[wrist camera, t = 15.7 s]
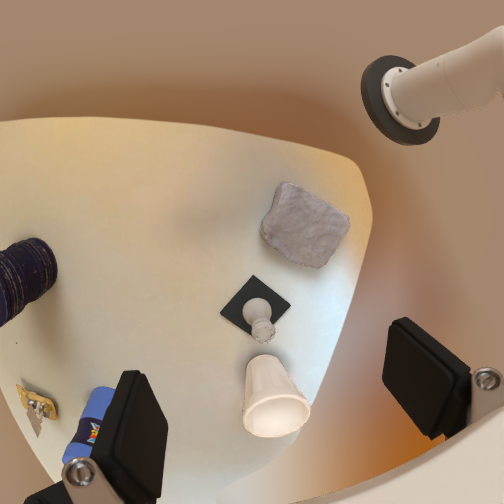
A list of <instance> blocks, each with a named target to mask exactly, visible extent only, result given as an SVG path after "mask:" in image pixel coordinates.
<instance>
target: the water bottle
mask: <svg viewBox="0 0 504 504" xmlns="http://www.w3.org/2000/svg"><path fill="white" fill-rule="evenodd" d="M114 393H115V390H114V389H112V388H108V387H98V388H96V389H94V390H93V392H92V394H91V396H90V398H89V400H88V402H87V404H86V407H85V409H84V411H83V413H82V415H81V418H80V420H79V425H78V429H77V432H76V434H75V436H74V437H73V439H72V440H71V442H70V444H68V445H67V448H66V450H65V452H64V455H63V457H62V461H63V463H64V465H65V464H66V463H67V462H68V461H69V460H71V459H72V458H75V457H80V456H84V457H88V458H89V456H90V453H91V450H92V448H93V445H94V442H95V439H96V436H97V433H98V431H99V428H100V425H101V422H102V420H103V417H104V414H105V412H106V409H107V407H108V406H109V405H110V403H111V400H112V398H113V395H114Z"/></svg>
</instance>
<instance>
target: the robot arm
mask: <svg viewBox="0 0 504 504" xmlns="http://www.w3.org/2000/svg"><path fill="white" fill-rule="evenodd" d="M498 90H499V91H500V93H501V95H502V97H503V99H504V25H503V26H499V27H497V28H495V29H493V30H492V31H490V32H489V33H487V34H485V35H484V36H482V37H480V38H479V39H477V40H475V41H474V42H471V43H469V44H467V45H465V46H462V47H460V48H458V49H456V50H453V51H451V52H448V53H446V54H443V55H441V56H438V57H436V58H434V59H432V60H429V61H427V62H425V63H422V64H420V65H418V66H416V67H414V68H411V69H406V68H403V67H395V68H392V69H390V70H389V71H387V72H386V73H385V74H384V76H383V78H382V82H381V93H382V97H383V101H384V103H385V105H386V108H387V109H388V111H389V113H390V114H391V115H392V116H393V118H394V119H395V120H396V121H397V122H398V123H400V124H401V125H402V126H404V127H406V128H408V129H412V130H418V129H422V128H425V127H426V126H428V125H429V123H430V122H431V120H432V118H436V117H441V116H446V115H452V114H458V113H463V112H469V111H476V110H481V109H485V108H487V107H488V106H489V105H490V104H491V103H492V102H493V100H494V98H495V97H496V94H497V92H498ZM469 372H470V367H468V366H467V365H466V364H465V363H464V362H462V361H461V360H460V359H459V358H458V357H456V356H455V355H454V354H452V352H450V351H449V350H448V349H447V348H446V347H444V346H443V345H442V344H440V343H439V342H438V341H437V340H435V339H434V338H433V337H432V336H430V335H429V334H428V333H427V332H426V331H424V330H423V329H422V328H420V327H419V326H418V325H417V324H415V323H414V322H413V321H412V320H410V319H409V318H407V317H403V318H400V319H398V320H394V321H393V322H392V325H391V326H390V327H389V330H388V340H387V347H386V354H385V361H384V368H383V374H382V380H383V383H384V385H385V386H386V387H387V389H388V390H389V391H390V392H391V394H392V395H393V396H394V397H395V399H396V400H397V401H398V403H399V404H400V405H401V406H402V408H403V409H404V410H405V412H406V413H407V414H408V415H409V417H410V418H411V419H412V420H413V422H414V423H415V425H416V426H417V427H418V428H419V430H420V431H421V432H422V434H423V435H425V436H427V435H428V437H429V438H430V439H431V440H433V439H435V438H436V437H438V436H440V435H441V434H442V433H443V434H444V435H445V442H443V443H441V444H440V445H438V446H436V447H434V448H433V449H431V450H429V451H428V452H426V453H424V454H422V455H420V456H419V457H417V458H415V459H413V460H411V461H409V462H407V463H405V464H403V465H401V466H399V467H397V468H395V469H392V470H390V471H388V472H386V473H384V474H381V475H379V476H376V477H374V478H372V479H369V480H367V481H364V482H362V483H359V484H356V485H353V486H351V487H348V488H345V489H342V490H339V491H336V492H333V493H329V494H327V495H323V496H319V497H315V498H312V499H308V500H304V501H300V502H296V503H291V504H504V378H503V376H502V374H501V373H500V372H499V371H498V370H496V369H494V368H491V367H482V368H479V369H477V370H476V371H474V373H473V374H471V373H469ZM167 435H168V423H167V420H166V418H165V416H164V414H163V412H162V410H161V408H160V406H159V404H158V402H157V400H156V398H155V395H154V393H153V391H152V389H151V387H150V384H149V382H148V380H147V378H146V376H145V374H141V373H140V371H139V370H130V371H123V373H122V375H121V378H120V380H119V383H118V385H117V388H116V390H115V393H114V395H113V398H112V400H111V403H110V405H109V406H108V407H107V409H106V412H105V414H104V417H103V420H102V422H101V425H100V428H99V431H98V433H97V436H96V439H95V442H94V445H93V448H92V450H91V453H90V456H89V458H88V457H84V456H80V457H75V458H72V459H71V460H69V461H68V462H67V463H66V464H65V465H64V467H63V469H62V474H61V475H62V480H61V481H59V482H58V483H56V484H54V485H51V486H50V487H47V488H45V489H43V490H41V491H39V492H37V493H35V494H32V495H31V496H29V497H27V499H26V500H25V501H24V504H156V500H157V498H160V497H161V490H162V479H163V469H164V460H165V451H166V443H167Z"/></svg>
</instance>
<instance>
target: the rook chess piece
mask: <svg viewBox="0 0 504 504" xmlns="http://www.w3.org/2000/svg"><path fill="white" fill-rule="evenodd" d="M271 315H272V313H271V306H270V305H269V303H268V302H267V301H266V300H264V299H261V298H255V299H251V300H249V301H248V302H247V303H246V304H245V305H244V308H243V316H244V319H245V320H246V322H247V323H249V324H250V325H252V337H253V338H254V339H255V340H256V341H258V342H260V343H262V344H263V343H264V342H267V343H269V342H270V340H271V339H273V338H274V335H275V327H274V325H273V324H271V322H270V318H271Z"/></svg>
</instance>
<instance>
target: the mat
mask: <svg viewBox="0 0 504 504" xmlns="http://www.w3.org/2000/svg"><path fill="white" fill-rule="evenodd" d="M255 298H261V299H264V300H266V301H267V302H268V303H269V305H270V306H271V313H272V315H271V318H270V322H271V324H274V323H275V322H276V321H277V320H278V319H279V318H280V317H281V316H282V315H283V314H284V313H285V311H286V310H287V309H288V308H289V307H290V306H291V305H290V304H289V303H288V302H287V301H285V300H284V299H283V298H282V297H280V296H279V295H278V294H277V293H275V292H274V291H273V290H271V289H270V288H269V287H268V286H266V285H265V284H264V283H263V282H261V281H260V280H259V279H258V278H256V277H255V276H254V275H253V276H252V277H251V278H250V279H249V280H248V282H247V283H246V284H245V285H244V286H243V287H242V288H241V289H240V291H239V292H238V293H237V294H236V295H235V296H234V297H233V298H232V299H231V301H230V302H229V303H228V304H227V305H226V306H225V307H224V308H223V310H222V311H221V312H220V314H221V315H222V316H224V317H225V318H227V319H228V320H230V321H231V322H232V323H234V324H235V325H237V326H238V327H240V328H241V329H243V330H244V331H245V332H247V333H248V334H250V335H251V336H252V325H250V324H249V323H247V322H246V320H245V319H244V316H243V308H244V305H245V304H246V303H247V302H248V301H249V300H251V299H255Z"/></svg>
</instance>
